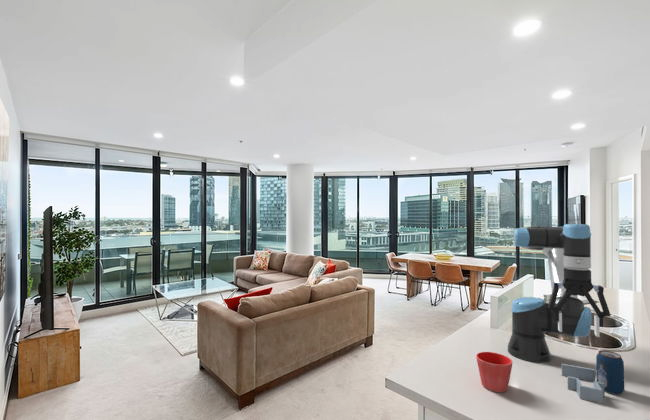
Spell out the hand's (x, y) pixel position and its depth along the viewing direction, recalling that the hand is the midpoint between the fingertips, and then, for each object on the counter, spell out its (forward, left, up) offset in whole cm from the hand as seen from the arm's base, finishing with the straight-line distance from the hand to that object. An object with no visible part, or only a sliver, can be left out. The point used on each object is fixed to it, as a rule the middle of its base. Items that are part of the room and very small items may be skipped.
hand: (578, 333), depth 110 cm
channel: (+1, -3, -18) cm, 18 cm away
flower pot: (-26, -15, -18) cm, 35 cm away
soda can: (+8, 0, -18) cm, 20 cm away
